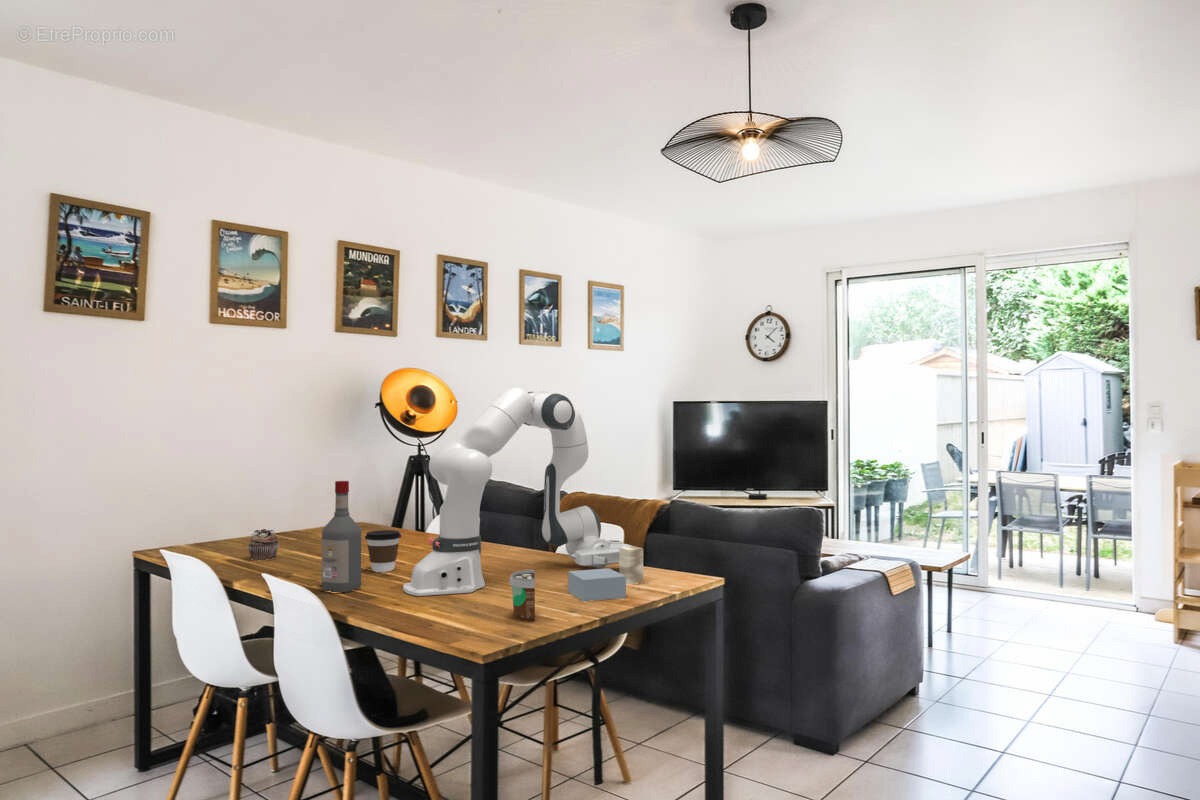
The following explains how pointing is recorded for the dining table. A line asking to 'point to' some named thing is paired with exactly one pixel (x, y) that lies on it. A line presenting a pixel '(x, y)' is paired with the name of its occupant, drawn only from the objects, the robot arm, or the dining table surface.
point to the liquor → (341, 547)
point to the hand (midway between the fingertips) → (619, 559)
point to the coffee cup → (383, 549)
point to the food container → (523, 594)
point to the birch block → (631, 564)
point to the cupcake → (263, 545)
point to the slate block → (596, 584)
